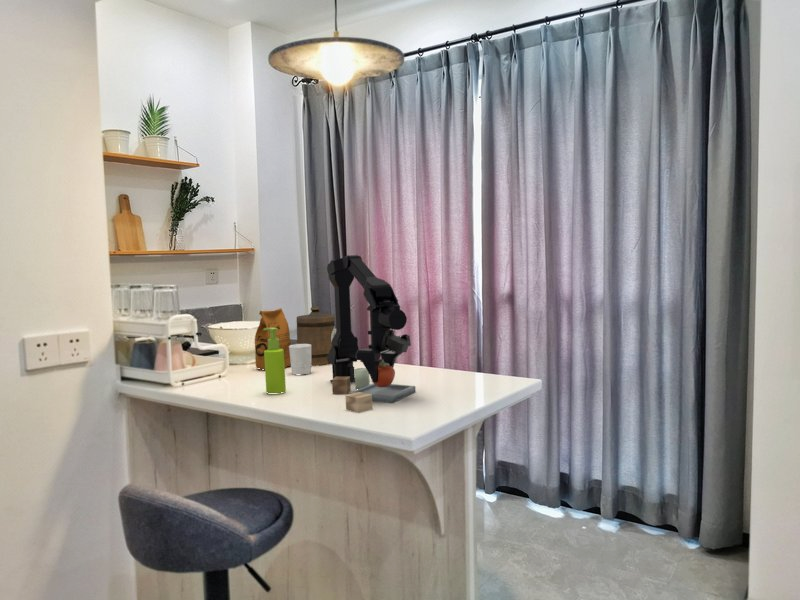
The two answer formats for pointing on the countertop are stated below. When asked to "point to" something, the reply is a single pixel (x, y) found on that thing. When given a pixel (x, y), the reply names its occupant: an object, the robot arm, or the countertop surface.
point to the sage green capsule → (361, 378)
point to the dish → (387, 392)
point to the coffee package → (262, 336)
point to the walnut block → (341, 385)
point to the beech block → (358, 402)
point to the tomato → (385, 374)
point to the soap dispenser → (274, 364)
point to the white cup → (300, 358)
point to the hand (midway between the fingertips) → (382, 379)
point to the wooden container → (316, 334)
